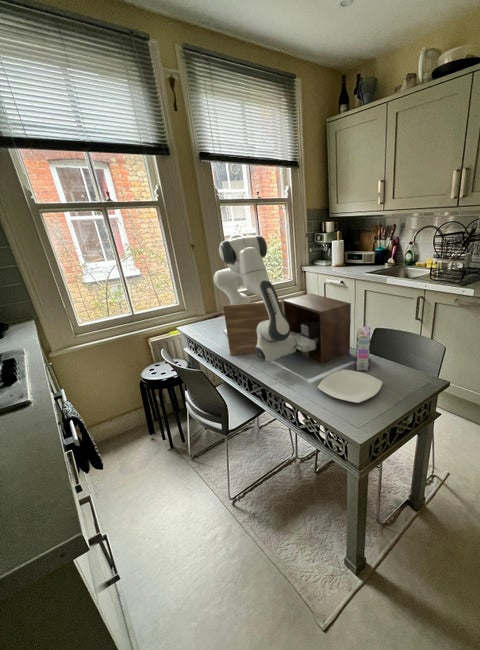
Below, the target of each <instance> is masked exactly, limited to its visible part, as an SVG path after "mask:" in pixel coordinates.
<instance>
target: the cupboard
mask: <svg viewBox="0 0 480 650" xmlns="http://www.w3.org/2000/svg"><path fill="white" fill-rule="evenodd" d="M282 307H283V313H284V315H285V317H286V318H287V320H288V321H289V323H290V327H291V331H292V332H294V333H301V324H304V323H306V321H307V320H310V319H314V318H317V321H319V322H320V336H321V352H318V353H316V354H313V355H310V356H308V355H306V354H304V353H302V351H300V350H298V349H296V351H295V352H294V353H298V354H300V355H302V356H304V357H306V358H308V359H310V360H312V361H314V362H316V363H318V364H321V365H325V364H327V363H330V362H332V361H335V360H337V359H339V358H342V357H344V356H348V355H349V354H350V353H351V319H352V317H351V314H352V303H351V302H348V301H343V300H339V299H335V298H331V297H327V296H322V295H319V294H315V293H307V294H302V295H298V296H295V297H289V298H287V299H283V300H282Z"/></svg>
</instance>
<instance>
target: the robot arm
mask: <svg viewBox="0 0 480 650" xmlns="http://www.w3.org/2000/svg"><path fill="white" fill-rule="evenodd" d="M218 246H219V247H218V254H219V257H220V259H221V261H222V263H224V264H226V265H227V267H228V268H223V269H220V270H217V271H216V270H215V273H214V275H213V283H214V285H215V287H216V288H217V289H219V290H220V291H222V292H223V293H224V294H225V295H226V296H227V298H228V300H229V302H230V304H229V305H234V304H246V303H251V299H250V297H249V296H248V295H247V294H245V293H242V292H240V291H238V289H243V288H245V289H246V291H248V292H249V293H251V294H253V295H256V296H258V297H259V298H261V300H262V302H264V304H265V306H266V309H267V312H268V315H269V320H265V321H262V322H260V323H259V324H258V326H257V329H256V333H257V345H256V348H255V351H256V353H255V354H256V356H257V357H258V359H259V360H260V361H263V362H271V361H275V360H277V359H279V358H281V357H283V356H285V357H286V356H288V355H291V354H295V353H296V352H295V351H296V349H298V350H300V351H302V352H307V351H311V350H314V349H316V342H318V338H313V340H311V339H309V338H306V337H304V336H302V335H301V333H294V332H292V331H291V327H290V323H289V321H288V320H287V318H286V317H285V315H284V310H283V311H282V309H283V307H282V308H281V305H280V302H279V301H280V299H279V296H278V293H277V291H276V289H275V287H274V285H273V284H272V282H271V281H270V278H269V275H268V272H267V269H266V266H265V262H264V259H263V258H265V257H266V255H267V254H268V245H267V242H266V240H265V238H264V237H263V236H262V235H259V234H255V235H246V236H244V235H243V234H240V233H234V234H232V235H230V236H229V238H228V239H225V240H223V241H220V243H219V244H218ZM223 332H224V333H225V334H226V335H227V329H226V328H225V329H224V330H223Z"/></svg>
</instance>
